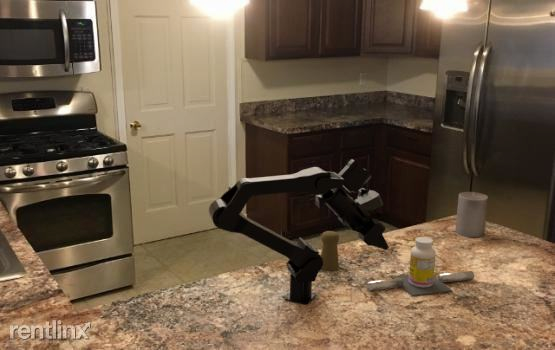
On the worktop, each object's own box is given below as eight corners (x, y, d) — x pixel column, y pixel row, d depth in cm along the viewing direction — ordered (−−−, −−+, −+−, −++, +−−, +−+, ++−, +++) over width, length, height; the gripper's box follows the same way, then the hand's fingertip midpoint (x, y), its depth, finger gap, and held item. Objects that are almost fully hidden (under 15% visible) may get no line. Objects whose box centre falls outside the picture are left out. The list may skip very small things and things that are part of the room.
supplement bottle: (408, 277, 159) (412, 234, 156) (432, 279, 157) (436, 236, 154) (407, 287, 153) (411, 242, 150) (433, 290, 151) (437, 245, 148)
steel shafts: (369, 292, 150) (369, 284, 150) (365, 288, 152) (366, 280, 152) (473, 280, 158) (474, 272, 158) (468, 277, 161) (469, 269, 160)
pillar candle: (464, 226, 204) (468, 186, 200) (489, 233, 196) (493, 192, 193) (449, 232, 198) (453, 191, 194) (474, 240, 190) (478, 197, 187)
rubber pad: (411, 296, 148) (411, 294, 148) (391, 277, 159) (391, 276, 159) (451, 291, 151) (452, 290, 151) (429, 273, 163) (429, 272, 162)
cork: (340, 271, 163) (341, 236, 160) (319, 271, 163) (320, 235, 160) (338, 263, 169) (339, 229, 166) (318, 263, 169) (319, 228, 166)
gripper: (380, 192, 134) (418, 232, 140) (350, 173, 152) (385, 209, 157) (348, 225, 134) (387, 264, 140) (322, 203, 152) (357, 238, 157)
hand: (379, 242), depth 149 cm, fingers open, 9 cm apart
